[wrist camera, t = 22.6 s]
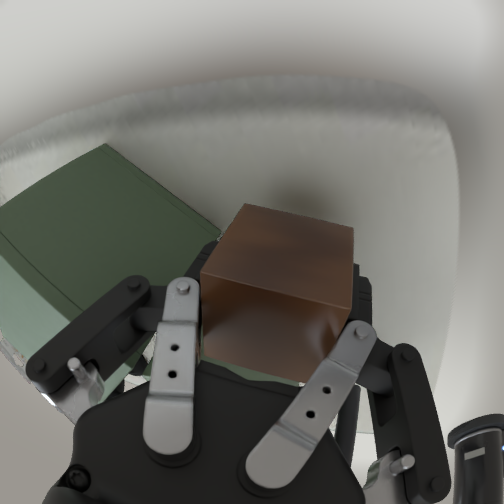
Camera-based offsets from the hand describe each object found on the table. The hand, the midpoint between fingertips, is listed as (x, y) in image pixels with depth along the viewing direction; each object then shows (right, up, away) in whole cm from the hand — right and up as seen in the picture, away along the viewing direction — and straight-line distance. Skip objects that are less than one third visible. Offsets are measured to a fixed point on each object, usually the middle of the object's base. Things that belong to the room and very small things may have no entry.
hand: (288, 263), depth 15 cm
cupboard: (-13, +1, +11) cm, 17 cm away
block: (0, 0, 0) cm, 0 cm away
